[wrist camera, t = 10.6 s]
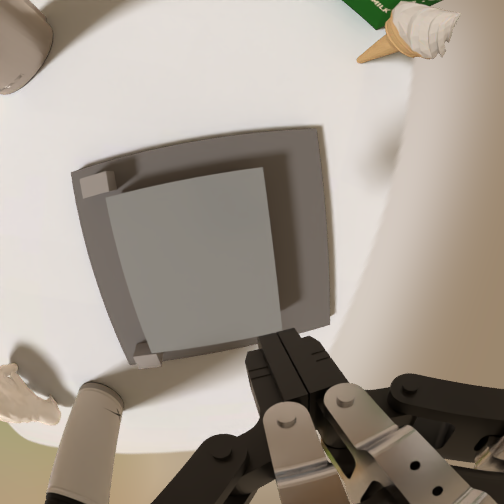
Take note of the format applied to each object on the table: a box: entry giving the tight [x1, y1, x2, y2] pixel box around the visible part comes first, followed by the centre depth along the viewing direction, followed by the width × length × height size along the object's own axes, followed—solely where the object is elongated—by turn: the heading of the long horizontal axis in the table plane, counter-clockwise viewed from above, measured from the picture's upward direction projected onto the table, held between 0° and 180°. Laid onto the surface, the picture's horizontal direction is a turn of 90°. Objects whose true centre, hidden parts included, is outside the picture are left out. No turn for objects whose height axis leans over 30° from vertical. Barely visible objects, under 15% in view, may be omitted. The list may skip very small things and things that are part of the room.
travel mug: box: [45, 383, 124, 504], centre depth 18 cm, size 6×7×20 cm
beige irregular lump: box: [0, 363, 61, 426], centre depth 21 cm, size 6×8×12 cm
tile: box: [106, 167, 282, 353], centre depth 22 cm, size 14×2×12 cm
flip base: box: [71, 129, 330, 369], centre depth 23 cm, size 20×22×3 cm
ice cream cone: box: [357, 1, 461, 63], centre depth 15 cm, size 6×6×15 cm
